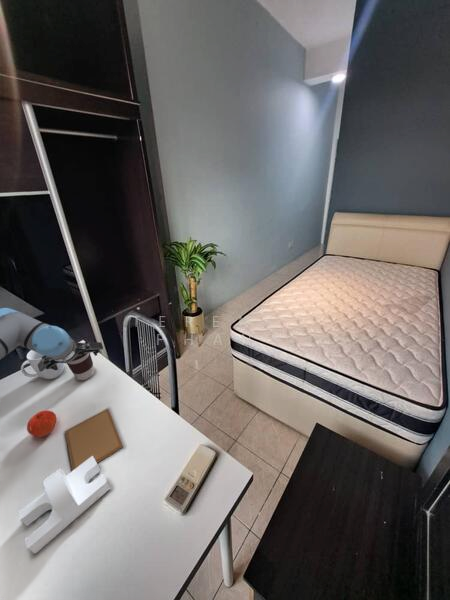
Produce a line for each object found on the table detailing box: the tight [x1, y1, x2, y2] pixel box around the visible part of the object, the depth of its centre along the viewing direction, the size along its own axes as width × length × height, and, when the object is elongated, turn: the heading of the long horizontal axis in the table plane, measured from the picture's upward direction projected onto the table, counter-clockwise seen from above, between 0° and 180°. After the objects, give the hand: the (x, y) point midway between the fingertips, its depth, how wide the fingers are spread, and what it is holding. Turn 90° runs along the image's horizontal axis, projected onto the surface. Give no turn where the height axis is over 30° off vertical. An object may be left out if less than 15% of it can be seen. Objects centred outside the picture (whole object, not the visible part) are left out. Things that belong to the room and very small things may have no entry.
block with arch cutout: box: [18, 456, 111, 555], centre depth 62 cm, size 18×10×11 cm, turn 136°
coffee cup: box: [66, 342, 95, 381], centre depth 103 cm, size 10×10×15 cm
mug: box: [20, 350, 65, 380], centre depth 104 cm, size 15×11×13 cm
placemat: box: [64, 408, 124, 471], centre depth 80 cm, size 18×14×1 cm
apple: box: [26, 410, 58, 438], centre depth 82 cm, size 8×8×8 cm
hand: (76, 359), depth 95 cm, fingers open, 13 cm apart
